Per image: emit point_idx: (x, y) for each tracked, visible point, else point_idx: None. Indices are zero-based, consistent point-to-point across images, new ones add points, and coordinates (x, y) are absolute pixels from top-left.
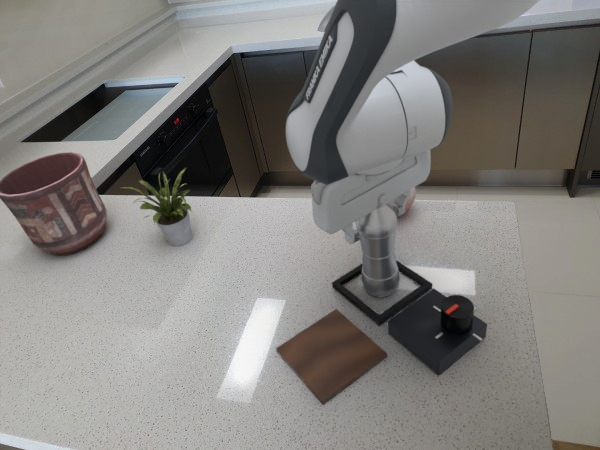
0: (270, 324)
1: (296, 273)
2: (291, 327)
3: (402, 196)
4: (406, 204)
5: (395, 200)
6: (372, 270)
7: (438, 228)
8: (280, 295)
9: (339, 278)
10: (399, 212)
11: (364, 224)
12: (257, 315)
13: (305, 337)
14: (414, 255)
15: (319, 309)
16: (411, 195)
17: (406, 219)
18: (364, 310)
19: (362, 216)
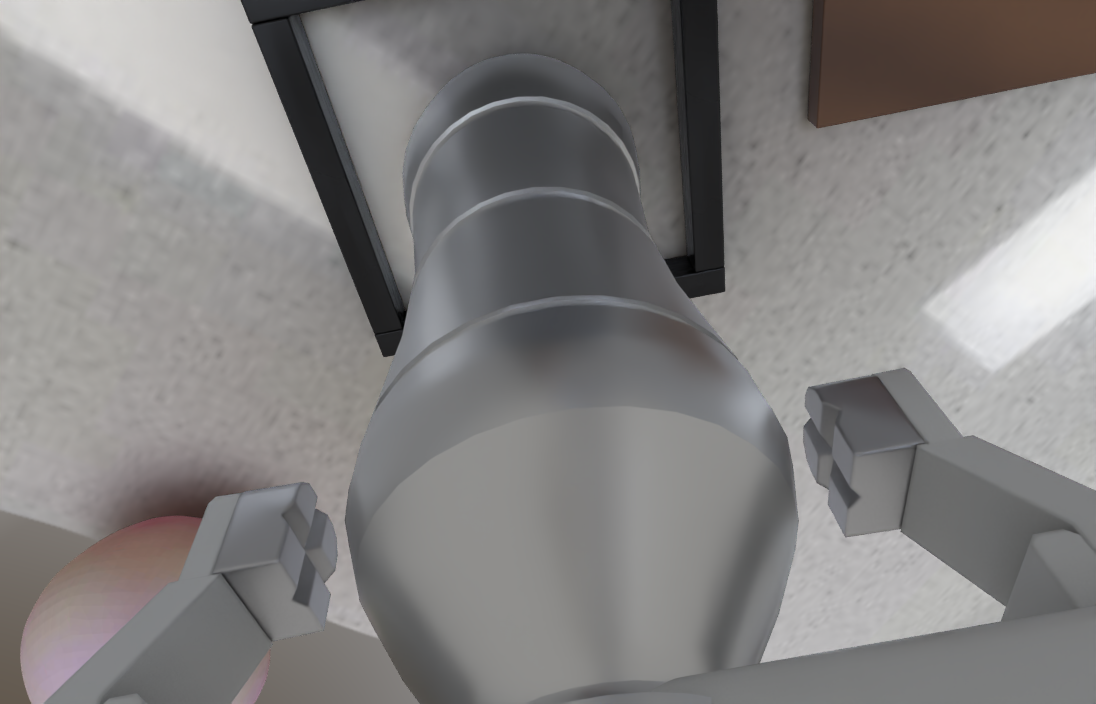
0: (1076, 214)
1: (781, 415)
2: (1031, 147)
3: (162, 690)
4: (124, 555)
5: (253, 656)
6: (631, 183)
7: (13, 367)
8: (918, 341)
9: None
10: (275, 517)
11: (792, 515)
12: (1069, 288)
13: (1075, 29)
14: (228, 264)
15: (856, 181)
16: (68, 598)
17: (160, 480)
18: (717, 24)
19: (988, 642)
